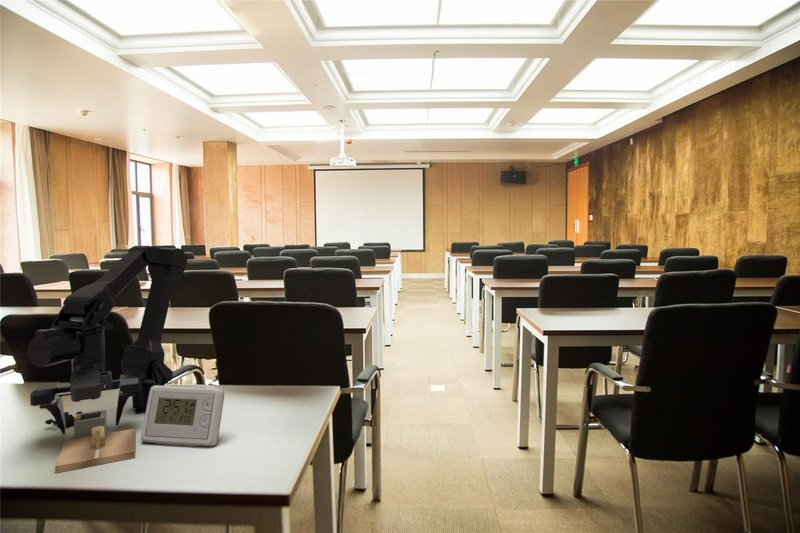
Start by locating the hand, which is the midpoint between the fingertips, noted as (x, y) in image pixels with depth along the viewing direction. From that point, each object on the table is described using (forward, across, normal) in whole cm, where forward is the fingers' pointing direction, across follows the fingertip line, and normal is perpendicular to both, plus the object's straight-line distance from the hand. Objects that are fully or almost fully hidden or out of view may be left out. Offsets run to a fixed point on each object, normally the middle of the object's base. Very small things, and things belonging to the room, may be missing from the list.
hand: (91, 429), depth 98 cm
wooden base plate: (+1, +2, -10) cm, 10 cm away
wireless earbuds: (+2, -6, +9) cm, 11 cm away
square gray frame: (+1, 0, 0) cm, 1 cm away
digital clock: (+2, +17, -12) cm, 21 cm away
